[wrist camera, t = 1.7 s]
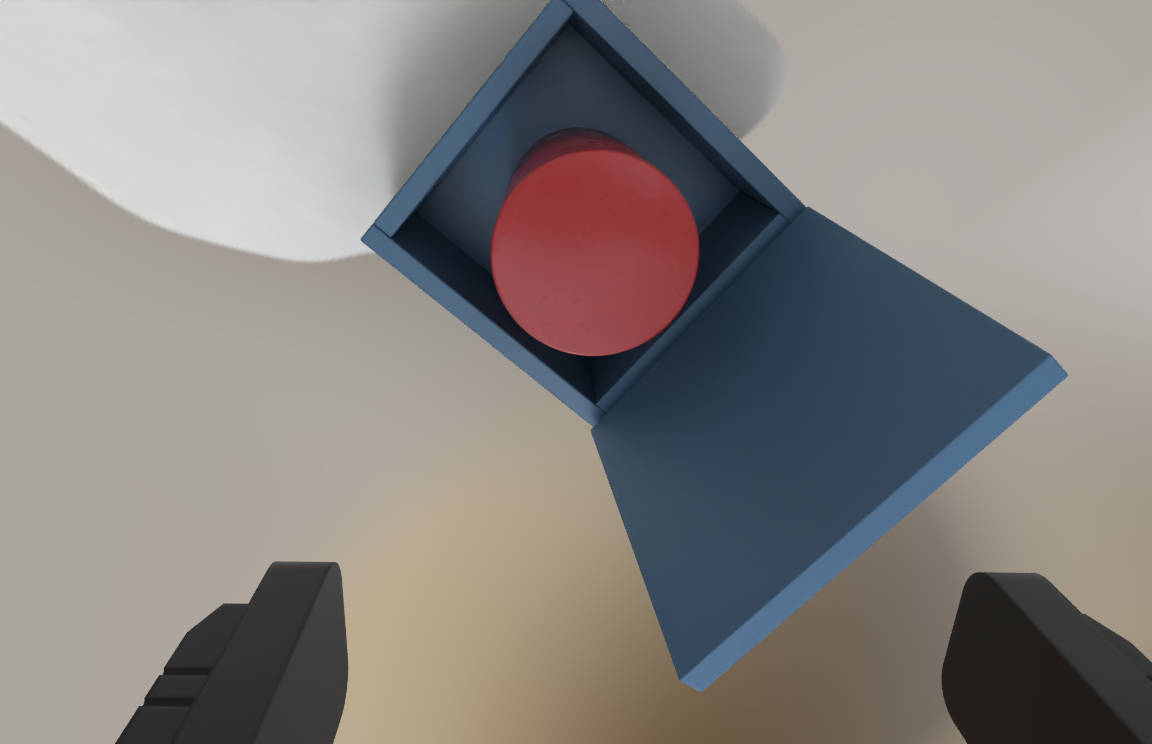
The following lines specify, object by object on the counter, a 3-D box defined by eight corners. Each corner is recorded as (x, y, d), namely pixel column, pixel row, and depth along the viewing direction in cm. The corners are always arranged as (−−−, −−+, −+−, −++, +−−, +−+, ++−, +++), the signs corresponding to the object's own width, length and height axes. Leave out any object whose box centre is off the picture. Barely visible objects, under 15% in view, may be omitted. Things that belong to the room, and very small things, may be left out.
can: (478, 208, 33) (447, 268, 22) (572, 94, 32) (587, 101, 21) (584, 298, 35) (602, 395, 24) (678, 194, 33) (743, 248, 23)
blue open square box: (393, 210, 34) (359, 240, 28) (566, -6, 31) (572, -28, 25) (587, 370, 37) (596, 430, 31) (760, 187, 34) (810, 211, 28)
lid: (679, 681, 19) (701, 693, 20) (1051, 354, 17) (1069, 376, 17) (590, 430, 30) (605, 440, 30) (807, 205, 27) (821, 220, 28)
